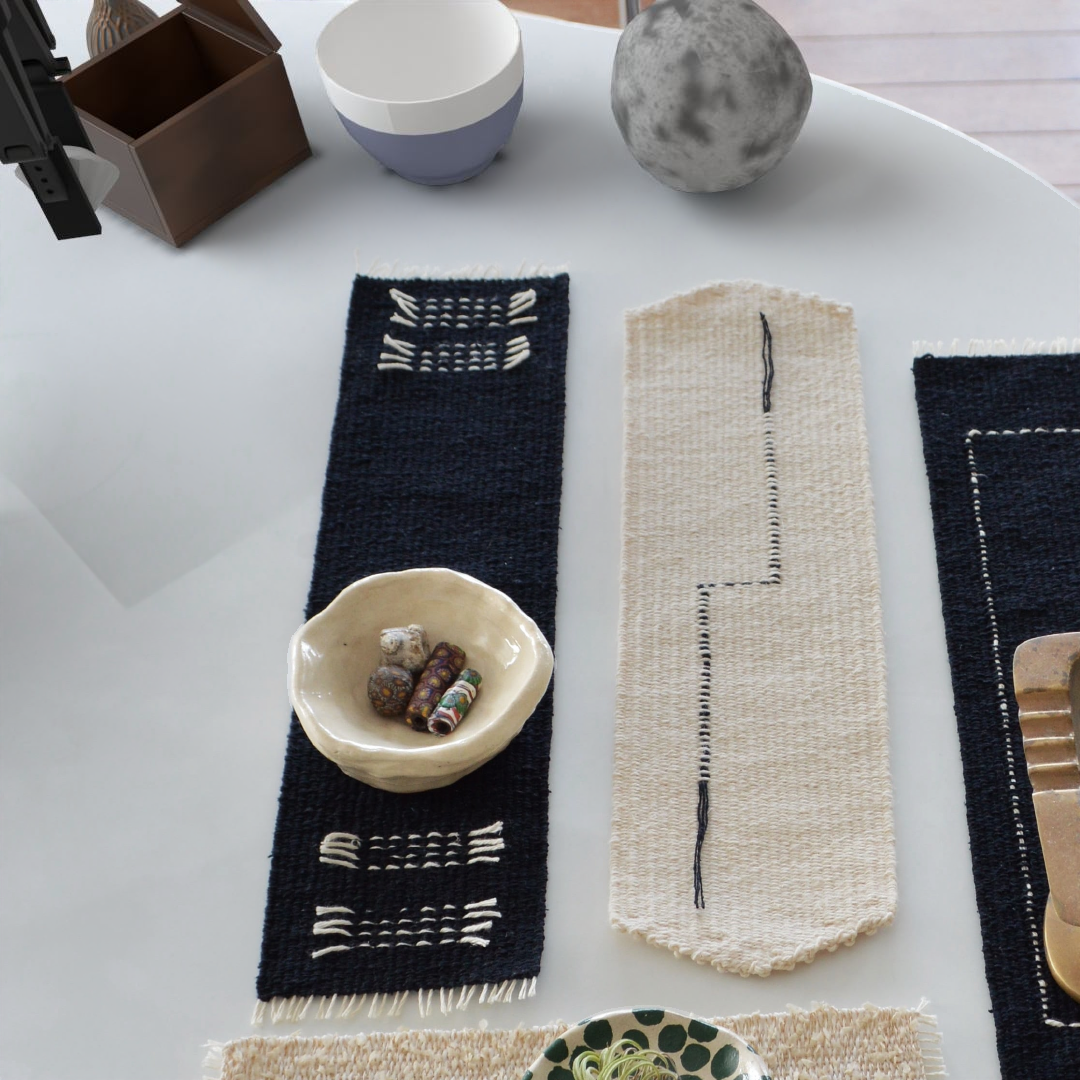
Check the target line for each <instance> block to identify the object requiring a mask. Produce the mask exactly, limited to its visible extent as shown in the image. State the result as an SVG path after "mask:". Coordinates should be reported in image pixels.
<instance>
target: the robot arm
mask: <svg viewBox="0 0 1080 1080" xmlns="http://www.w3.org/2000/svg"><path fill="white" fill-rule="evenodd" d="M56 49H57V40H56V37H55V35H54V34H53V32H52V30H51V28H50V25H49V24H48V22H47V19H46V17H45V15H44V12H43V10H42V8H41V5H40V4H39V1H38V0H0V162H1V164H2V165H11V164H17V166H18V165H19V166H20V168H21V170H22V172H23V174H24V176H25V178H26V180H27V182H28V184H29V186H30V188H31V189H32V191H31V192H32V193H33V195H34V197H35V200H36V201H37V204H38V205H39V207H40V209H41V210H42V212H43V214H44V216H45V218H46V221H47V222H48V224H49V226H50V228H51V230H52V232H53V234H54V236H55V238H56V239H57V241H65V240H66V241H67V240H70V239H80V238H85V237H92V236H94V237H95V236H100V235H102V232H103V226H102V224H101V222H100V220H99V218H98V216H97V214H96V211H95V212H94V210H93V208H92V205H91V203H90V201H89V199H88V197H87V195H86V193H85V191H84V189H83V187H82V185H81V183H80V181H79V179H78V177H77V175H76V172H75V170H74V168H73V166H72V164H71V162H70V160H69V158H68V156H67V154H66V152H65V150H64V148H63V146H74V147H81V148H84V149H87V150H89V151H91V152H92V153H94V154H96V153H95V150H94V148H93V146H92V144H91V142H90V140H89V137H88V135H87V133H86V131H85V129H84V127H83V125H82V122H81V120H80V118H79V116H78V114H77V112H76V110H75V107H74V105H73V103H72V101H71V99H70V97H69V95H68V92H67V90H66V88H65V86H64V84H63V82H62V81H56V79H57V78H56V77H61V76H64V75H71V74H72V70H73V69H72V66H71V62H70V60H69V57H68V56H67V55H66V56H58V57H55V55H54V54H53V53H52V51H54V50H56Z"/></svg>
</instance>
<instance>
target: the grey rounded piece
mask: <svg viewBox="0 0 1080 1080" xmlns="http://www.w3.org/2000/svg"><path fill="white" fill-rule="evenodd" d="M63 148H64V150H65V152H66V154H67V156H68V158H69V160H70V162H71V164H72V166H73V168H74V170H75V172H76V175H77V177H78V179H79V181H80V183H81V185H82V187H83V189H84V191H85V193H86V195H87V197H88V199H89V201H90V203H91V205H92V208H93V210H94V212H95V213H96V211H97V210H98V208H99V207H100V206H101V205H102V203H101V202H102V201H103V199H104V198H105V196H106V195H107V194H108V192H109V191H110V189H111V188H112V186H113V185H114V183H115V182H116V180H117V179H118V178H119V174H120V171H119V169H118V168H117V166H115V165H114V164H112V163H111V162H109V161H107V160H105V159H103V158H101V157H99V156H98V155H96V154H94V153H92V152H91V151H89V150H87V149H84V148H81V147H74V146H63ZM13 171H14V175H15V177H16V178H17V179H18V180H19V181H21V183H23V184H24V185H25V186H26V187H27V188H28V189H29V190H30V191H31V192H33V191H32V189H31V188H30V186H29V184H28V182H27V180H26V178H25V176H24V174H23V172H22V170H21V168H20V166H19V165H18V164H17V166H16V167H15V168H14V170H13Z"/></svg>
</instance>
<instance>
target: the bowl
mask: <svg viewBox="0 0 1080 1080" xmlns="http://www.w3.org/2000/svg"><path fill="white" fill-rule="evenodd" d="M318 35H319V36H318V38H317V41H316V43H315V53H314V55H315V57H314V58H315V62H316V65H317V70H318V72H319V75H320V78H321V80H322V83H323V85H324V88H325V91H326V93H327V96H328V99H329V101H330V102H331V104H332V106H333V108H334V110H335V111H336V114H337V115H338V117H339V119H340V121H341V123H342V126H344V128H345V130H346V131H347V133H348V135H350V137H351V138H352V139H354V141H355V142H356V143H357V144H358V145H359V146H360V147H361V148H362V149H363V150H364V151H365V152H366V153H367V154H368V155H369V156H370V157H372V159H374V160H375V161H376V162H378V163H379V164H381V165H383V166H384V167H386V168H388V169H391V170H393V171H394V172H395V173H396V174H398V175H399V176H400V177H402V178H404V179H406V180H407V181H410V182H413V183H416V184H421V185H429V186H444V185H445V186H446V185H452V184H457V183H461V182H464V181H466V180H469V179H471V178H473V177H475V176H477V175H479V174H480V173H482V172H484V171H485V170H486V169H487V168H488V167H490V165H491V164H492V163H493V161H494V160H495V158H496V156H497V153H499V151H500V150H501V149H502V148H503V147H504V146H505V145H506V144H507V142H508V140H509V139H510V138H511V136H512V133H513V130H514V128H515V125H516V123H517V120H518V117H519V114H520V112H521V108H522V106H523V101H524V81H525V80H524V79H525V77H524V76H525V60H524V49H523V48H524V47H523V39H522V30H521V27H520V24H519V22H518V20H517V17H516V16H515V14H513V12H512V11H511V10H510V9H509V7H507V5H505V4H504V3H503V2H501V1H500V0H355V1H353V2H351V3H350V4H348V5H347V6H345V7H344V8H342V9H340V10H339V11H338V12H336V14H335V15H334V16H332V17H331V18H330V19H329V20H328V21H327V23H326V24H325V26H324V27H323V28H322V29H321V31H320V33H319V34H318Z"/></svg>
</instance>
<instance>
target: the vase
mask: <svg viewBox="0 0 1080 1080" xmlns="http://www.w3.org/2000/svg"><path fill="white" fill-rule="evenodd" d="M160 17H161V16H159V15H158V14H157V12H155V11H154V10H153V9H152V8H150V7H149V6H148V5H146V4H144V3H143V2H142V1H140V0H93V5H92V8H91V11H90V13H89V16H88V19H87V23H86V28H85V39H86V40H85V41H86V47H87V52H88V57H89V60H90V59H91V58H93V57H95V56H96V55H98V54H100V53H101V52H103V51H105V50H106V49H108V48H110V47H111V46H113V45H115V44H116V43H118V42H120V41H121V40H123V39H125V38H126V37H128V36H130V35H131V34H133V33H135V32H136V31H138V30H140V29H141V28H143V27H145V26H146V25H148V24H150V23H151V22H153V21H155V20H156V19H158V18H160Z"/></svg>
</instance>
